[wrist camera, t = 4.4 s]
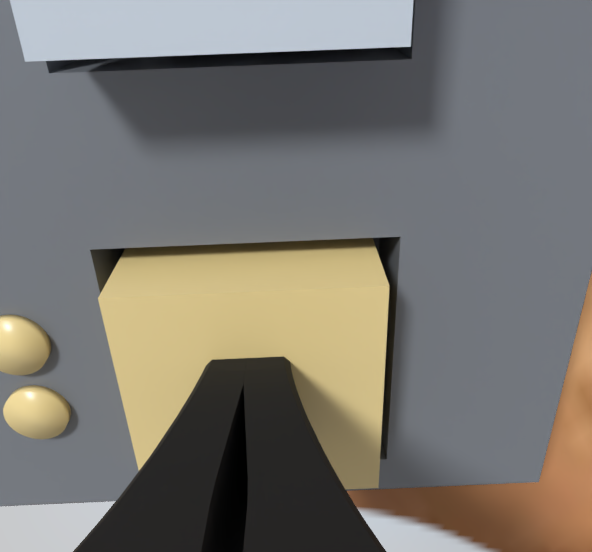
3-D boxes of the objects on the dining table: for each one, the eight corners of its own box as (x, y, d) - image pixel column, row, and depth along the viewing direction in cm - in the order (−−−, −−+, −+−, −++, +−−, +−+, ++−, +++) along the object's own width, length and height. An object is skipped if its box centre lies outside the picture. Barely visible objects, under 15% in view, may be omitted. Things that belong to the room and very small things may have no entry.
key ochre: (370, 232, 10) (389, 285, 9) (364, 415, 13) (378, 488, 11) (128, 242, 10) (97, 298, 9) (164, 424, 13) (145, 498, 11)
